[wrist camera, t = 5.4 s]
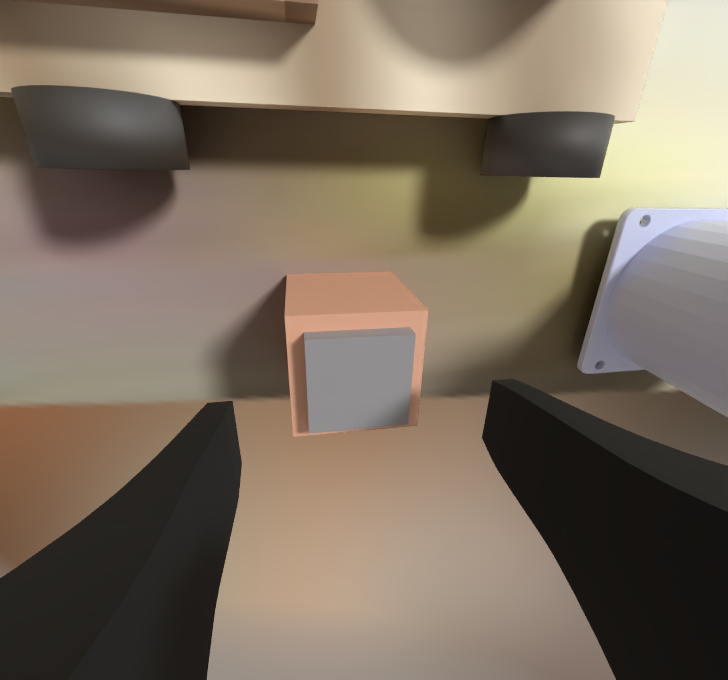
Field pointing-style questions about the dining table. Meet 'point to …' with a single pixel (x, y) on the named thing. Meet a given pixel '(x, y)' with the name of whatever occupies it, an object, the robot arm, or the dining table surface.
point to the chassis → (326, 71)
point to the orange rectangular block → (353, 352)
